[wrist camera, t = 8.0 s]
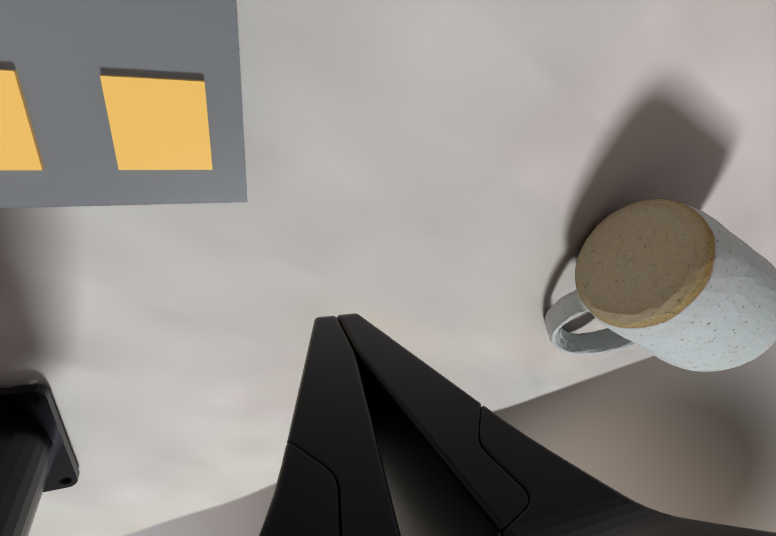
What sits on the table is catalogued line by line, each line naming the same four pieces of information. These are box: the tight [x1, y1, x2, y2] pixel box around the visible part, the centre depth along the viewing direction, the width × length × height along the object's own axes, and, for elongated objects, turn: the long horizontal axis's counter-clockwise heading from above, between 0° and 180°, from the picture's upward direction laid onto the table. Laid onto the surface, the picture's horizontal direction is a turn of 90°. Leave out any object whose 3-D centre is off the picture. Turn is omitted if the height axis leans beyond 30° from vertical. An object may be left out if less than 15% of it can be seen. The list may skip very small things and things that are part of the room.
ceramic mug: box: [545, 199, 776, 371], centre depth 25 cm, size 11×8×8 cm
